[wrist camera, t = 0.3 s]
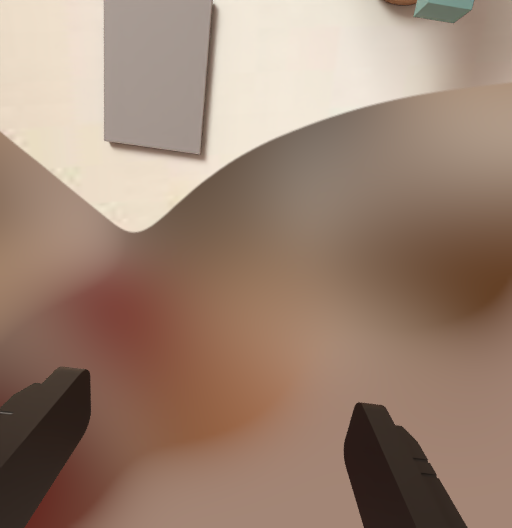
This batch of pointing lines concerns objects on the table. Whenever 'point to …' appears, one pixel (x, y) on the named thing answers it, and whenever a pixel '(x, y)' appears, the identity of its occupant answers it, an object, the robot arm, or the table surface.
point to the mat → (156, 72)
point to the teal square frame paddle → (443, 9)
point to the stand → (402, 2)
